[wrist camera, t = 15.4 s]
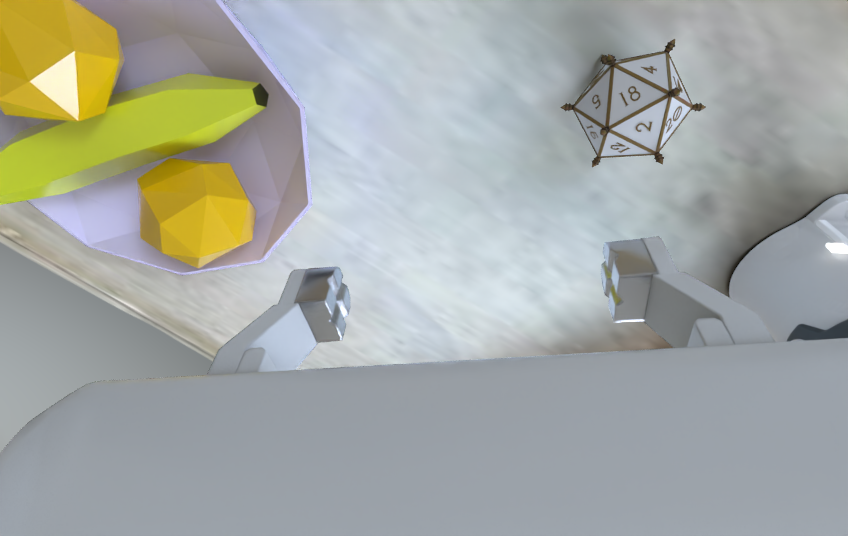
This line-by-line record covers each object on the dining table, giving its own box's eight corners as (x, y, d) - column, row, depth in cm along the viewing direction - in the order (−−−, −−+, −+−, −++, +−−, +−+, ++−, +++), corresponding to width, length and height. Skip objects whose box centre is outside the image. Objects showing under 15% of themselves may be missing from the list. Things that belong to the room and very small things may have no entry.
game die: (611, 45, 40) (706, -8, 30) (655, 136, 42) (758, 113, 32) (525, 102, 39) (595, 65, 29) (574, 192, 41) (656, 186, 31)
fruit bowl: (312, -61, 33) (265, -29, 24) (330, 249, 51) (306, 330, 42) (-112, -106, 32) (-315, -89, 23) (57, 225, 50) (-23, 303, 41)
